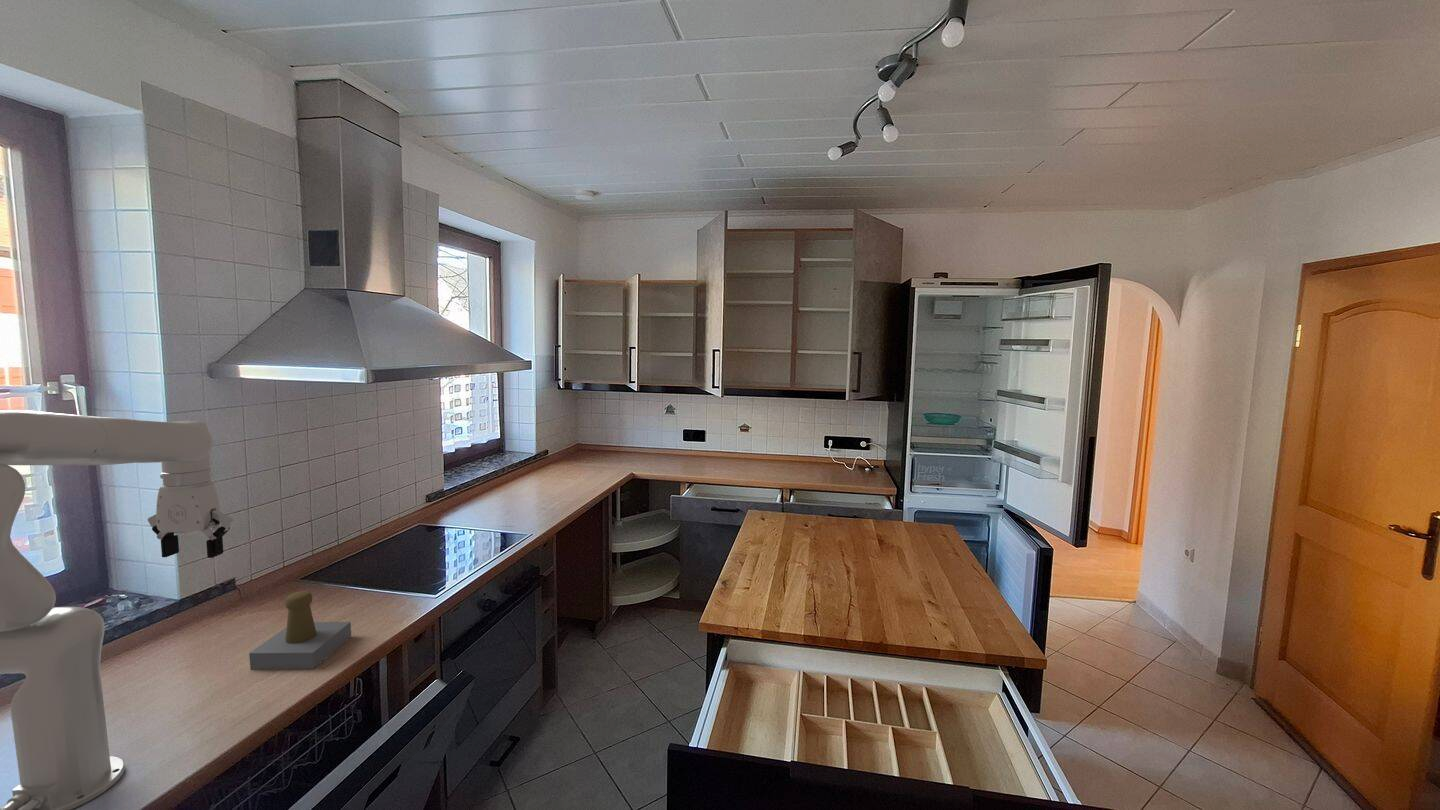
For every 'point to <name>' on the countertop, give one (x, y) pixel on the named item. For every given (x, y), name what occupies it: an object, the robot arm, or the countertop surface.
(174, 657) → the countertop surface
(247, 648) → the countertop surface
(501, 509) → the countertop surface
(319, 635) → the base block
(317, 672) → the countertop surface
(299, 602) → the cork
